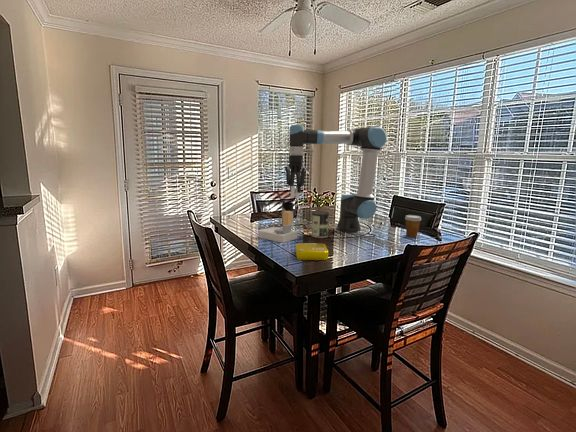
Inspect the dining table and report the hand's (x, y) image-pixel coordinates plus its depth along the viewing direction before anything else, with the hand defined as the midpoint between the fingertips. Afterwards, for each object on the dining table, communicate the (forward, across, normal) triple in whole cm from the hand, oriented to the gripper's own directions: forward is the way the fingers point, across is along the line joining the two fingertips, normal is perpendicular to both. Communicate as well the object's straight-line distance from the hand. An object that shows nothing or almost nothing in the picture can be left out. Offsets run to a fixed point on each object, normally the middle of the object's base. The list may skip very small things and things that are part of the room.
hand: (295, 198), depth 188 cm
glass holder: (+25, -26, +33) cm, 49 cm away
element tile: (+25, +22, -15) cm, 36 cm away
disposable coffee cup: (+25, +48, +58) cm, 79 cm away
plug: (+25, -16, +14) cm, 32 cm away
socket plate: (+25, -12, 0) cm, 27 cm away
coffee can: (+25, +4, +20) cm, 32 cm away
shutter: (+20, -8, 0) cm, 22 cm away
